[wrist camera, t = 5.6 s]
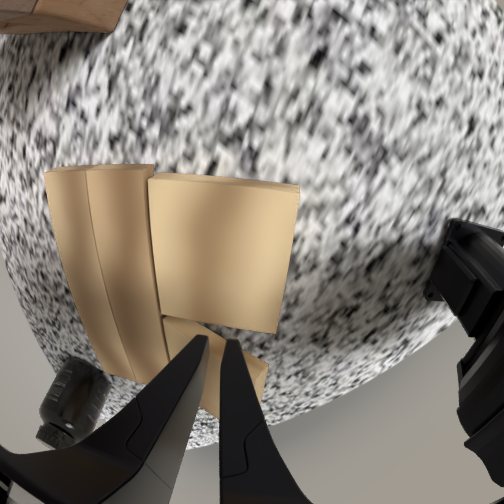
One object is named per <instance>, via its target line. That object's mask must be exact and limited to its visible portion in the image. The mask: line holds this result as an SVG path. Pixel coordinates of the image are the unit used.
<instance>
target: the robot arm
mask: <svg viewBox="0 0 504 504" xmlns="http://www.w3.org/2000/svg"><path fill="white" fill-rule="evenodd" d="M457 224H458V226H457V228H455V227H456V225H457ZM503 245H504V232H503V231H502V230H498V229H495V228H492V227H488V226H484V225H481V224H477V223H474V222H470V221H466V220H462V219H458V218H455V219H453V220H452V221H451V223H450V226H449V229H448V232H447V235H446V238H445V241H444V243H443V246H442V249H441V251H440V254H439V257H438V259H437V262H436V264H435V267H434V269H433V271H432V274H431V276H430V278H429V281H428V283H427V285H426V287H425V290H424V292H423V296H424V297H425V299H426V300H431V301H445V302H446V304H447V305H448V307H449V309H450V310H451V312H452V313H453V315H454V316H456V317H457V318H458V320H459V321H460V323H461V325H462V326H463V328H464V330H465V331H466V333H467V335H468V337H473V338H474V340H475V342H474V344H473V345H472V346H471V348H470V349H469V351H468V352H467V353H466V355H465V356H464V358H462V359H461V360H460V361H459V362H458V364H457V373H458V382H459V407H458V409H457V415H458V418H459V420H460V423H461V425H462V427H463V429H464V431H465V432H466V433H467V434H468V436H469V437H470V438H469V439H467V440H466V441H465V442H464V446H465V447H466V448H468V449H470V450H471V451H473V452H474V453H476V455H477V456H478V457H479V458H480V459H481V460H482V461H483V463H484V465H485V466H486V468H487V470H488V473H489V475H490V477H491V479H492V481H494V482H495V483H496V484H498V485H499V486H501V487H504V248H503ZM429 293H430V294H429ZM209 353H210V349H209V337H208V336H207V335H202V334H197V335H195V336H194V338H193V339H192V340H191V341H190V342H189V343H188V344H187V345H186V346H185V347H184V348H183V349H182V350H181V351H180V352H179V353H178V354H177V355H176V356H175V357H174V358H173V359H172V360H171V361H170V362H169V363H168V364H167V365H166V366H165V367H164V368H163V369H162V370H161V371H160V372H159V373H158V374H157V375H156V376H155V377H154V378H153V379H152V380H151V381H150V382H149V383H148V384H147V385H146V386H145V387H144V388H143V389H142V390H141V391H140V392H139V393H138V394H137V395H136V398H135V397H134V398H133V399H132V400H131V401H130V402H129V403H128V404H127V405H126V406H125V407H124V408H123V409H122V410H121V411H119V412H118V413H117V414H116V415H115V416H114V417H112V418H111V419H110V420H108V421H107V422H106V423H105V424H103V425H102V426H101V427H99V428H98V429H96V430H95V431H94V432H92V433H91V434H90V435H88V436H87V437H85V438H84V439H83V440H81V441H80V442H78V443H76V444H74V445H72V446H69V447H65V448H60V449H55V450H49V451H43V452H37V453H29V454H14V453H11V452H10V451H8V450H7V449H6V448H5V447H3V446H2V445H1V444H0V504H169V501H170V498H171V495H172V492H173V491H172V490H173V488H174V485H175V482H176V478H177V475H178V472H179V469H180V465H181V462H182V459H183V456H184V452H185V449H186V446H187V443H188V439H189V436H190V433H191V430H192V426H193V423H194V420H195V417H196V414H197V410H198V407H199V404H200V401H201V397H202V394H203V389H204V383H205V377H206V371H207V366H208V360H209ZM264 419H265V418H264V415H263V412H262V409H261V406H260V403H259V400H258V397H257V394H256V391H255V388H254V385H253V382H252V379H251V376H250V373H249V370H248V367H247V364H246V361H245V358H244V354H243V351H242V348H241V345H240V342H239V340H238V339H231V338H228V339H227V340H226V344H225V348H224V353H223V357H222V361H221V366H220V403H219V476H220V504H313V503H312V502H311V501H310V500H309V499H308V498H307V497H306V496H305V495H304V494H303V492H302V491H301V489H300V488H299V486H298V485H297V483H296V482H295V480H294V478H293V477H292V475H291V473H290V472H289V470H288V468H287V466H286V465H285V463H284V461H283V459H282V458H281V456H280V454H279V452H278V450H277V448H276V446H275V444H274V442H273V439H272V436H271V434H270V431H269V429H268V426H267V423H266V421H265V420H264ZM491 504H504V497H503V498H501V499H499V500H497V501H495V502H493V503H491Z"/></svg>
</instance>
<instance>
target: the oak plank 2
mask: <svg viewBox="0 0 504 504" xmlns="http://www.w3.org/2000/svg"><path fill="white" fill-rule="evenodd" d="M163 324H164V330H165V335H166V341H167V346H168V351H169V355H170V360H172V359H173V358H174V357H175V356H176V355H177V354H178V353H179V352H180V351H181V350H182V349H183V348H184V347H185V346H186V345H187V344H188V343H189V342H190V341H191V340H192V339H193V338H194V336H195V335H197V334H202V335H207V336H208V337H209V349H210V353H209V360H208V366H207V371H206V377H205V383H204V389H203V394H202V397H201V401H200V404H199V406H200V407H202V408H203V409H204V410H206V411H207V412H209V413H210V414H211V415H213V416H214V417H216V418H217V419H219V403H220V366H221V361H222V357H223V353H224V348H225V344H226V340H225V339H224V338H222V337H220V336H219V335H217V334H216V333H214V332H212V331H211V330H209V329H207V328H206V327H204V326H203V325H201V324H200V323H198V322H196V321H193V320H188V319H183V318H178V317H174V316H169V315H168V316H166V317H165V318H163ZM242 351H243V354H244V358H245V361H246V364H247V367H248V370H249V373H250V376H251V379H252V382H253V385H254V388H255V391H256V394H257V397H258V400H259V403H261V399H262V394H263V390H264V385H265V381H266V376H267V372H268V367H269V364H267V363H266V362H264V361H262V360H260V359H258V358H256V357H255V356H253V355H251V354H249V353H248V352H246V351H244V350H242Z"/></svg>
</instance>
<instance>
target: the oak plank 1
mask: <svg viewBox="0 0 504 504" xmlns="http://www.w3.org/2000/svg"><path fill="white" fill-rule="evenodd" d="M148 193H149V210H150V223H151V235H152V245H153V255H154V263H155V271H156V279H157V286H158V293H159V300H160V306H161V313H162V314H164V315H169V316H174V317H178V318H183V319H188V320H193V321H199V322H204V323H209V324H215V325H220V326H226V327H232V328H238V329H245V330H251V331H258V332H265V333H272V334H276V331H277V326H278V320H279V315H280V310H281V305H282V299H283V294H284V289H285V283H286V278H287V272H288V266H289V260H290V255H291V249H292V243H293V236H294V230H295V224H296V218H297V211H298V204H299V198H300V187H299V186H298V185H291V184H283V183H276V182H267V181H259V180H250V179H240V178H230V177H219V176H207V175H193V174H177V173H158V174H156V175H154V176H153V177H151V178H149V179H148Z"/></svg>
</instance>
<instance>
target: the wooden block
mask: <svg viewBox="0 0 504 504" xmlns="http://www.w3.org/2000/svg"><path fill="white" fill-rule="evenodd" d="M127 2H128V0H0V34H14V35H21V34H30V33H43V32H69V31H75V32H101V33H109V32H112V31H113V30H114V29H115V27H116V24H117V22H118V20H119V18H120V16H121V14H122V12H123V10H124V8H125V6H126V4H127Z"/></svg>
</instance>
